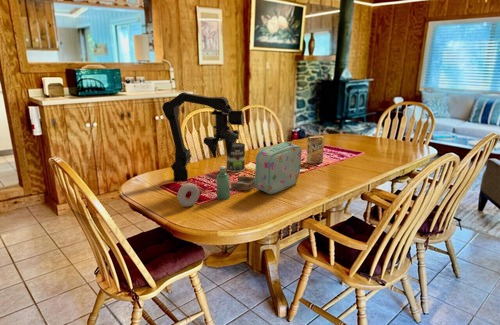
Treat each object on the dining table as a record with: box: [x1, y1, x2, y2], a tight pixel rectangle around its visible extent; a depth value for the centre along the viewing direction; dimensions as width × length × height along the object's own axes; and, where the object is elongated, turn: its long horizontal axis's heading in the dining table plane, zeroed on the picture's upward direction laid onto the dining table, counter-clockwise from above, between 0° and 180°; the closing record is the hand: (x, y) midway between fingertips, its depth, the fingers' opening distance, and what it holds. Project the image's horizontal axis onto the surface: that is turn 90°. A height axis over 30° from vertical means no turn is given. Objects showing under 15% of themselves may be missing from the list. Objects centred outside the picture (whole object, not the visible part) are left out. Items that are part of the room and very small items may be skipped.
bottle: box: [216, 165, 231, 201], centre depth 153 cm, size 6×6×14 cm
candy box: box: [306, 135, 325, 164], centre depth 206 cm, size 9×4×15 cm, turn 107°
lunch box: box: [254, 141, 302, 195], centre depth 164 cm, size 27×10×21 cm, turn 141°
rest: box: [230, 175, 255, 192], centre depth 168 cm, size 10×11×3 cm
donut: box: [176, 182, 200, 208], centre depth 144 cm, size 10×4×10 cm, turn 131°
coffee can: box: [226, 142, 246, 173], centre depth 193 cm, size 10×10×14 cm
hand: (221, 155), depth 171 cm, fingers open, 9 cm apart
